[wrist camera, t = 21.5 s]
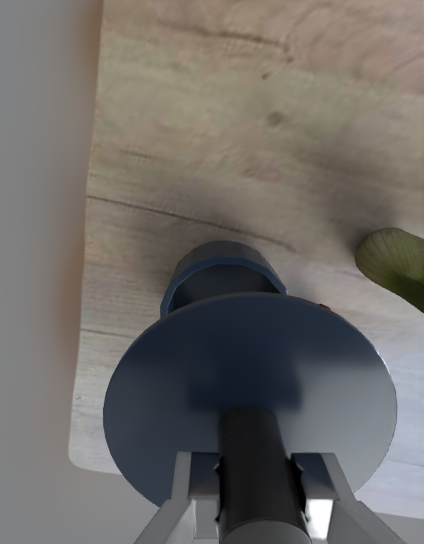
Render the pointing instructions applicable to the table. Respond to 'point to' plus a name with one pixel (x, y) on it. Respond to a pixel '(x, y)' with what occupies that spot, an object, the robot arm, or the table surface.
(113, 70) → the table surface
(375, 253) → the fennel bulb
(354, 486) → the lid
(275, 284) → the pot
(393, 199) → the table surface
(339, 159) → the table surface
